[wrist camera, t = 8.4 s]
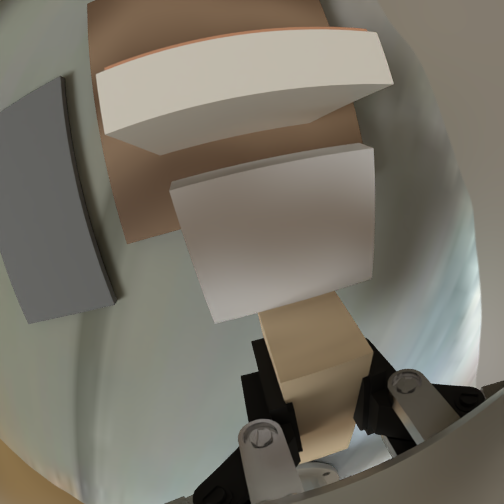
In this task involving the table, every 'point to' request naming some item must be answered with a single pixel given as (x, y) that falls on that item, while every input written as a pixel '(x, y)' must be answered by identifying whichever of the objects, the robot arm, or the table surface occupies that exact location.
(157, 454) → the table surface
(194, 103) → the tile
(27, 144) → the mat
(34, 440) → the table surface
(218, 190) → the turner
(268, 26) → the board
